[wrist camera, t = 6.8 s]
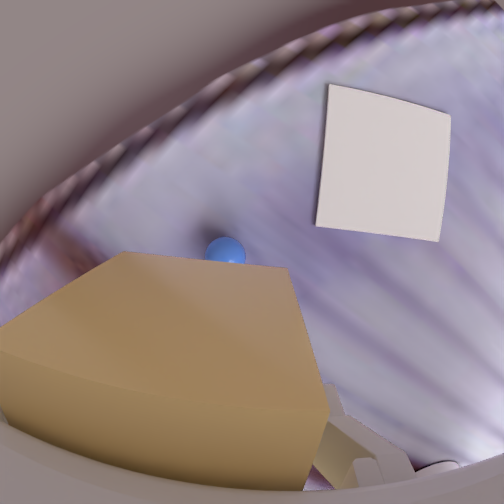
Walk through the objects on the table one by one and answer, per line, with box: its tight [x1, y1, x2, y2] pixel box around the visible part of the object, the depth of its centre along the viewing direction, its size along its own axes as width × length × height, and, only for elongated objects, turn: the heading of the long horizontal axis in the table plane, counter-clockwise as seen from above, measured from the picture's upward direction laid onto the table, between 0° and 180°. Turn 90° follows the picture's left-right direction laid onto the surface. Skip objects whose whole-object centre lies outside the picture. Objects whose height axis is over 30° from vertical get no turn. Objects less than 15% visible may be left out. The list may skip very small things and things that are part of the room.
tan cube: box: [0, 251, 330, 491], centre depth 9 cm, size 6×6×8 cm
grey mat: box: [315, 84, 451, 242], centre depth 25 cm, size 12×12×1 cm
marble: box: [205, 237, 246, 264], centre depth 25 cm, size 3×3×3 cm
